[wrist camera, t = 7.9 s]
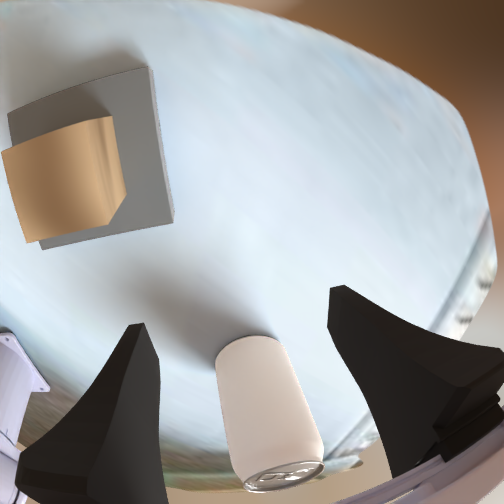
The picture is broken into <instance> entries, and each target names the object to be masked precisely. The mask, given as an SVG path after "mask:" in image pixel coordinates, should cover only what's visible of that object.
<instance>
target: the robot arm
mask: <svg viewBox="0 0 504 504" xmlns="http://www.w3.org/2000/svg"><path fill="white" fill-rule="evenodd" d="M327 328H328V330H329V333H330V335H331V337H332V340H333V342H334V344H335V347H336V349H337V350H338V352H339V354H340V355H341V357H342V359H343V361H344V362H345V364H346V366H347V367H348V369H349V371H350V372H351V374H352V376H353V377H354V379H355V381H356V382H357V384H358V386H359V387H360V389H361V391H362V393H363V395H364V397H365V399H366V402H367V404H368V406H369V409H370V411H371V413H372V416H373V419H374V421H375V424H376V426H377V429H378V431H379V434H380V437H381V440H382V443H383V446H384V449H385V452H386V456H387V459H388V463H389V466H390V470H391V474H392V478H393V479H392V480H390V481H388V482H385V483H383V484H381V485H378V486H376V487H374V488H372V489H369V490H367V491H364V492H362V493H359V494H356V495H354V496H351V497H348V498H346V499H343V500H340V501H337V502H334V503H331V504H384V503H386V502H389V501H391V500H393V499H395V498H397V497H399V496H401V495H403V494H405V493H407V492H409V491H411V490H413V489H414V490H413V491H412V492H410V493H409V494H407V495H405V496H404V497H402V498H400V499H398V500H396V501H395V502H393V503H391V504H477V503H479V502H480V501H481V500H482V499H483V498H485V497H486V496H487V495H488V494H489V493H490V492H492V491H493V490H494V489H495V488H496V487H497V486H498V485H499V484H500V483H501V482H502V481H504V405H503V406H502V407H500V406H499V404H498V402H499V401H500V397H499V396H498V395H497V391H498V390H499V389H500V387H501V386H502V385H503V383H504V352H503V351H502V350H501V349H500V348H495V347H488V346H480V345H474V344H470V343H465V342H461V341H457V340H454V339H450V338H447V337H444V336H441V335H438V334H435V333H432V332H430V331H427V330H425V329H423V328H420V327H418V326H416V325H413V324H411V323H409V322H407V321H405V320H403V319H401V318H399V317H397V316H396V315H394V314H392V313H390V312H388V311H387V310H385V309H383V308H381V307H380V306H378V305H376V304H375V303H373V302H372V301H370V300H368V299H367V298H365V297H363V296H362V295H360V294H359V293H357V292H355V291H354V290H352V289H350V288H349V287H347V286H345V285H341V286H336V287H332V288H330V295H329V309H328V322H327ZM160 383H161V382H160V366H159V358H158V356H157V354H156V351H155V349H154V347H153V344H152V342H151V339H150V337H149V334H148V332H147V329H146V327H145V324H144V323H139V324H132V325H129V326H128V327H127V329H126V330H125V332H124V334H123V335H122V337H121V339H120V340H119V342H118V344H117V346H116V347H115V349H114V351H113V352H112V354H111V355H110V357H109V359H108V360H107V362H106V364H105V365H104V367H103V368H102V370H101V371H100V373H99V374H98V376H97V377H96V379H95V380H94V382H93V383H92V385H91V386H90V387H89V389H88V390H87V391H86V393H85V394H84V395H83V396H82V397H81V399H80V400H79V401H78V402H77V403H76V405H75V406H74V407H73V408H72V409H71V410H70V411H69V412H68V413H67V414H66V415H65V416H64V417H63V418H62V419H61V421H59V422H58V423H57V424H56V425H55V426H54V427H53V428H52V429H51V430H50V431H49V432H47V433H46V434H45V435H44V436H43V437H41V438H40V439H39V440H38V441H36V442H35V443H33V444H32V445H31V446H29V447H28V448H27V449H25V450H24V451H22V452H21V451H20V450H18V449H17V448H16V443H17V439H18V435H19V431H20V427H21V424H22V420H23V417H24V413H25V410H26V406H27V403H28V400H29V397H30V394H31V392H49V391H50V387H49V385H48V384H47V383H46V381H45V380H44V379H43V377H42V376H41V374H40V373H39V372H38V370H37V369H36V368H35V366H34V365H33V363H32V362H31V360H30V359H29V357H28V356H27V354H26V353H25V351H24V350H23V348H22V347H21V345H20V344H19V342H18V340H17V339H16V337H15V336H14V334H12V333H0V504H25V502H26V500H27V496H29V497H30V498H32V499H33V500H35V501H37V502H38V503H40V504H169V503H168V498H167V493H166V489H165V483H164V477H163V471H162V464H161V456H160V447H159V405H160Z"/></svg>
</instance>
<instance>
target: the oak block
mask: <svg viewBox="0 0 504 504" xmlns="http://www.w3.org/2000/svg"><path fill="white" fill-rule="evenodd" d="M1 154H2V159H3V164H4V168H5V172H6V176H7V181H8V184H9V188H10V192H11V196H12V199H13V203H14V206H15V209H16V213H17V216H18V219H19V222H20V225H21V228H22V231H23V234H24V237H25V239H26V242H27V243H30V242H34V241H38V240H42V239H47V238H51V237H55V236H59V235H63V234H68V233H72V232H76V231H81V230H85V229H90V228H94V227H99V226H103V225H108V224H109V222H110V221H111V219H112V217H113V216H114V214H115V212H116V211H117V209H118V207H119V206H120V204H121V203H122V201H123V199H124V198H125V196H126V195H127V193H126V188H125V183H124V179H123V174H122V169H121V164H120V159H119V154H118V148H117V142H116V137H115V131H114V125H113V118H112V116H109V117H103V118H97V119H92V120H87V121H83V122H80V123H77V124H73V125H70V126H67V127H64V128H61V129H58V130H55V131H52V132H49V133H47V134H44V135H41V136H38V137H36V138H33V139H31V140H28V141H26V142H23V143H21V144H18V145H16V146H13V147H11V148H9V149H6V150H4V151H2V152H1Z"/></svg>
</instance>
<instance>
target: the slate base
mask: <svg viewBox="0 0 504 504" xmlns="http://www.w3.org/2000/svg"><path fill="white" fill-rule="evenodd" d="M7 116H8V122H9V129H10V135H11V140H12V146H16V145H18V144H21V143H23V142H26V141H28V140H31V139H33V138H36V137H38V136H41V135H44V134H47V133H49V132H52V131H55V130H58V129H61V128H64V127H67V126H70V125H73V124H77V123H80V122H83V121H87V120H92V119H97V118H103V117H109V116H112V118H113V125H114V131H115V137H116V142H117V148H118V154H119V159H120V164H121V169H122V174H123V179H124V183H125V188H126V193H127V195H126V196H125V198H124V199H123V201H122V203H121V204H120V206H119V207H118V209H117V211H116V212H115V214H114V216H113V217H112V219H111V221H110V222H109V224H108V225H103V226H99V227H94V228H90V229H85V230H81V231H76V232H72V233H68V234H63V235H59V236H55V237H51V238H47V239H42V240H39V243H40V246H41V248H42V250H46V249H50V248H54V247H59V246H63V245H68V244H72V243H77V242H81V241H86V240H91V239H95V238H100V237H105V236H110V235H114V234H119V233H124V232H129V231H134V230H140V229H145V228H150V227H155V226H161V225H166V224H171V223H173V221H174V212H175V211H174V206H173V201H172V196H171V190H170V185H169V179H168V173H167V168H166V162H165V156H164V150H163V143H162V137H161V130H160V124H159V117H158V109H157V102H156V94H155V86H154V78H153V70H152V69H150V68H149V67H143V68H139V69H134V70H130V71H126V72H122V73H118V74H114V75H110V76H107V77H103V78H100V79H96V80H93V81H90V82H87V83H83V84H80V85H77V86H74V87H71V88H68V89H66V90H63V91H60V92H57V93H55V94H52V95H49V96H47V97H44V98H42V99H39V100H37V101H34V102H32V103H30V104H27V105H25V106H23V107H20V108H18V109H16V110H14V111H12V112H10V113H8V114H7Z"/></svg>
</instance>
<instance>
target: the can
mask: <svg viewBox="0 0 504 504" xmlns="http://www.w3.org/2000/svg"><path fill="white" fill-rule="evenodd" d="M215 370H216V377H217V384H218V391H219V397H220V403H221V409H222V415H223V421H224V427H225V432H226V438H227V443H228V448H229V453H230V458H231V462H232V467H233V470H234V472H235V473H236V474H237V476H238V477H239V478H240V479H241V480H242V481H243V488H244V489H245V490H247V491H250V492H257V493H264V492H274V491H280V490H285V489H288V488H292V487H295V486H298V485H301V484H303V483H306V482H308V481H310V480H312V479H313V478H315V477H317V476H318V475H319V474H321V473H322V472H323V470H324V469H325V464H324V463H323V462H322V458H323V451H324V446H323V443H322V440H321V437H320V434H319V432H318V429H317V427H316V424H315V422H314V419H313V417H312V414H311V412H310V409H309V407H308V404H307V402H306V399H305V397H304V394H303V392H302V389H301V387H300V384H299V382H298V379H297V377H296V374H295V372H294V369H293V367H292V364H291V362H290V359H289V357H288V355H287V352H286V350H285V348H284V346H283V345H282V344H281V343H280V342H279V341H277V340H275V339H273V338H270V337H266V336H260V335H252V336H246V337H242V338H239V339H237V340H234V341H233V342H231V343H229V344H228V345H227V346H226V347H224V349H222V351H221V352H220V353H219V354H218V356H217V358H216V361H215Z"/></svg>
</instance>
